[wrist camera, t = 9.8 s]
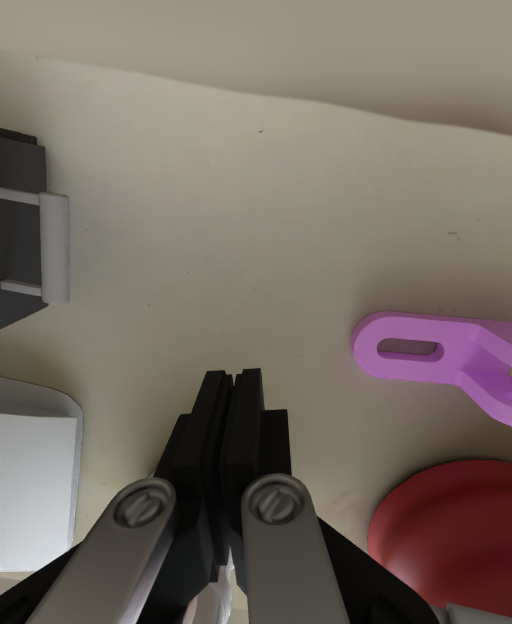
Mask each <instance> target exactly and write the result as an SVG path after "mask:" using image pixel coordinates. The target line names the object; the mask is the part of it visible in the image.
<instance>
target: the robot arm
mask: <svg viewBox="0 0 512 624" xmlns="http://www.w3.org/2000/svg"><path fill="white" fill-rule="evenodd" d="M230 548H231V554H232V561H233V565H234V568H235V574H236V581H237V585H238V586H239V587H240V588H241V590H242V591H243V592H244V593H245V594H246V596H247V600H248V613H249V624H512V618H511V617H507V616H503V615H498V614H494V613H490V612H486V611H482V610H477V609H473V608H469V607H465V606H461V605H456V604H452V603H448V602H447V606H446V609H445V608H441V607H437V606H432V605H429V604H428V603H427V602H426V601H425V600H424V599H423V598H422V597H421V596H420V595H419V594H418V593H417V592H416V591H415V590H413V589H412V588H411V587H409V586H408V585H407V584H405V583H404V582H403V581H402V580H400V579H399V578H398V577H396V576H395V575H394V574H392V573H391V572H390V571H388V570H387V569H386V568H385V567H383V566H382V565H381V564H379V563H378V562H377V561H375V560H374V559H373V558H371V557H370V556H369V555H368V554H366V553H365V552H364V551H362V550H361V549H360V548H358V547H357V546H356V545H355V544H353V543H352V542H351V541H349V540H348V539H347V538H345V537H344V536H343V535H341V534H340V533H339V532H338V531H336V530H335V529H334V528H332V527H331V526H330V525H328V524H327V523H326V522H324V521H323V520H322V519H321V518H319V517H318V516H317V515H316V512H315V509H314V505H313V502H312V499H311V496H310V493H309V492H308V490H307V488H306V486H305V485H304V484H303V483H302V482H301V481H300V480H298V479H296V478H294V477H292V472H291V457H290V443H289V428H288V413H287V409H280V410H265V407H264V396H263V385H262V375H261V368H254V369H243V372H242V374H236V378H235V383H234V385H233V378H232V374H228V375H226V372H225V370H218V371H207V372H206V375H205V377H204V380H203V383H202V385H201V388H200V390H199V393H198V396H197V398H196V401H195V404H194V406H193V409H192V412H191V414H181V415H180V416H179V417H178V419H177V422H176V424H175V426H174V429H173V431H172V433H171V436H170V438H169V440H168V443H167V445H166V447H165V450H164V452H163V454H162V457H161V459H160V461H159V464H158V466H157V468H156V471H155V473H154V475H153V478H145V479H141V480H137V481H135V482H133V483H131V484H129V485H127V486H126V487H125V488H123V489H122V490H121V491H119V492H118V493H117V494H116V496H115V497H114V498H113V499H112V500H111V501H110V503H109V504H108V506H107V507H106V509H105V510H104V511H103V513H102V514H101V516H100V517H99V519H98V520H97V521H96V523H95V524H94V526H93V527H92V529H91V530H90V531H89V533H88V534H87V536H86V537H85V539H84V540H83V541H82V542H80V543H79V544H77V545H76V546H74V547H73V548H71V549H70V550H68V551H67V552H65V553H64V554H62V555H61V556H59V557H58V558H56V559H55V560H53V561H52V562H50V563H49V564H47V565H45V566H44V567H42V568H41V569H39V570H38V571H36V572H35V573H33V574H32V575H30V576H29V577H27V578H26V579H24V580H23V581H21V582H20V583H18V584H17V585H15V586H14V587H12V588H11V589H9V590H8V591H6V592H4V593H3V594H2V595H0V624H192V621H193V618H194V615H195V612H196V606H197V595H198V594H199V593H200V592H201V591H202V590H203V589H204V588H205V587H206V586H207V585H208V584H209V583H218V578H219V571H220V566H227V564H228V559H229V551H230Z"/></svg>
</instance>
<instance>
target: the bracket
mask: <svg viewBox="0 0 512 624" xmlns="http://www.w3.org/2000/svg"><path fill="white" fill-rule="evenodd" d="M386 338H396V339H407V340H418V341H429V342H437V348H436V350H435V351H434V352H433V353H431V354H429V355H416V354H405V353H394V352H383V351H378V350H377V346H378V344H379V342H380V341H382V340H383V339H386ZM350 347H351V351H352V354H353V356H354V358H355V360H356V362H357V364H358V365H359V367H360V368H361V369H362V370H363V371H364V372H366V373H367V374H369V375H371V376H374V377H378V378H386V379H397V380H408V381H419V382H430V383H441V384H452V385H456V386H459V387H460V388H462V389H463V390H464V391H465V392H466V393H467V394H468V395H469V396H470V397H471V398H472V399H473V400H474V401H475V402H476V403H477V404H478V405H479V406H480V407H481V408H482V409H483V410H484V411H485V412H486V413H487V414H488V415H489V416H491V417H492V418H494V419H496V420H498V421H500V422H502V423H504V424H507V425H509V426H512V377H510V376H509V375H508V372H509V370H510V367H511V366H512V322H507V321H496V320H484V319H473V318H462V317H450V316H439V315H428V314H416V313H405V312H393V311H381V312H376V313H373V314H371V315H369V316H367V317H365V318H364V319H363V320H361V321H360V322H359V323H358V325H357V326H356V327H355V329H354V331H353V333H352V336H351V340H350Z"/></svg>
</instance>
